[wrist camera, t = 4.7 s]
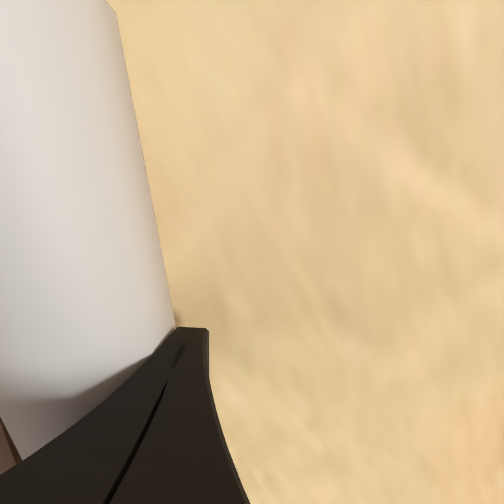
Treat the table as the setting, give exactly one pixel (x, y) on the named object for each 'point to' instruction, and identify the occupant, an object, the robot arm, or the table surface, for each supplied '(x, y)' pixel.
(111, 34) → the tube
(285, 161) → the table surface
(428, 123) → the table surface
